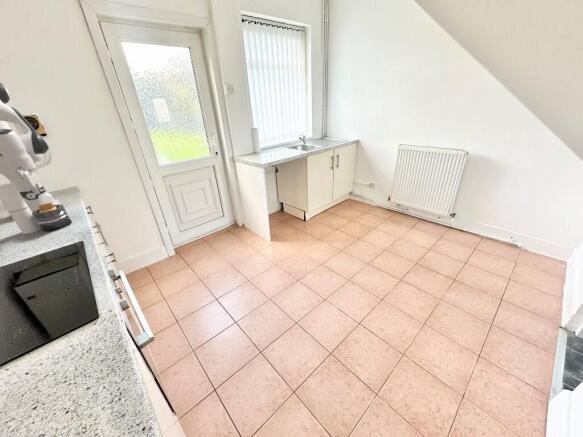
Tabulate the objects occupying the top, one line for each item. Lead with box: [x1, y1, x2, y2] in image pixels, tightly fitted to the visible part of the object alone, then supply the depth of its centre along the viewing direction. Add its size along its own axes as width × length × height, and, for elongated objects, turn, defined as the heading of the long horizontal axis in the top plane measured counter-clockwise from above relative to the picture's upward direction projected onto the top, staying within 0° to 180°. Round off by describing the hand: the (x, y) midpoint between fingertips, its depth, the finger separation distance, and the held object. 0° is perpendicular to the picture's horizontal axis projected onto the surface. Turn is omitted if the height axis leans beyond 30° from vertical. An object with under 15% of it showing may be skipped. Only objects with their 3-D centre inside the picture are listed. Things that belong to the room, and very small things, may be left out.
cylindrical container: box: [0, 182, 42, 235], centre depth 119 cm, size 7×7×25 cm
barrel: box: [32, 203, 73, 233], centre depth 126 cm, size 12×12×10 cm
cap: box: [38, 202, 56, 213], centre depth 123 cm, size 7×7×5 cm
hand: (38, 192), depth 119 cm, fingers open, 3 cm apart
